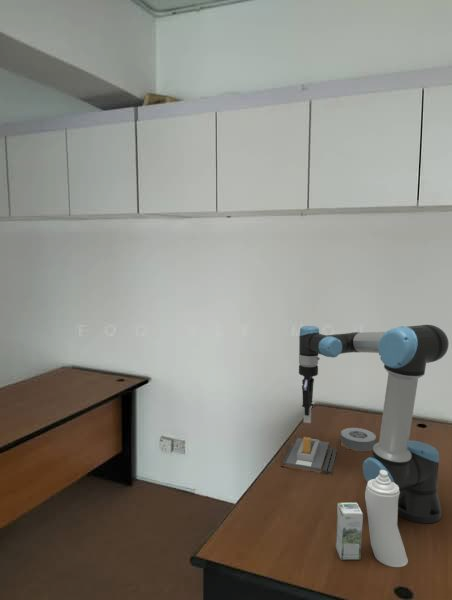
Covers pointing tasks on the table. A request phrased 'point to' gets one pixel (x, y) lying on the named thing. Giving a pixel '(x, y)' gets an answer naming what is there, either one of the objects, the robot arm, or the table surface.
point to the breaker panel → (317, 459)
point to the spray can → (384, 520)
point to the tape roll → (358, 439)
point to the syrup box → (349, 531)
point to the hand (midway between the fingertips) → (307, 422)
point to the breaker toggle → (307, 445)
